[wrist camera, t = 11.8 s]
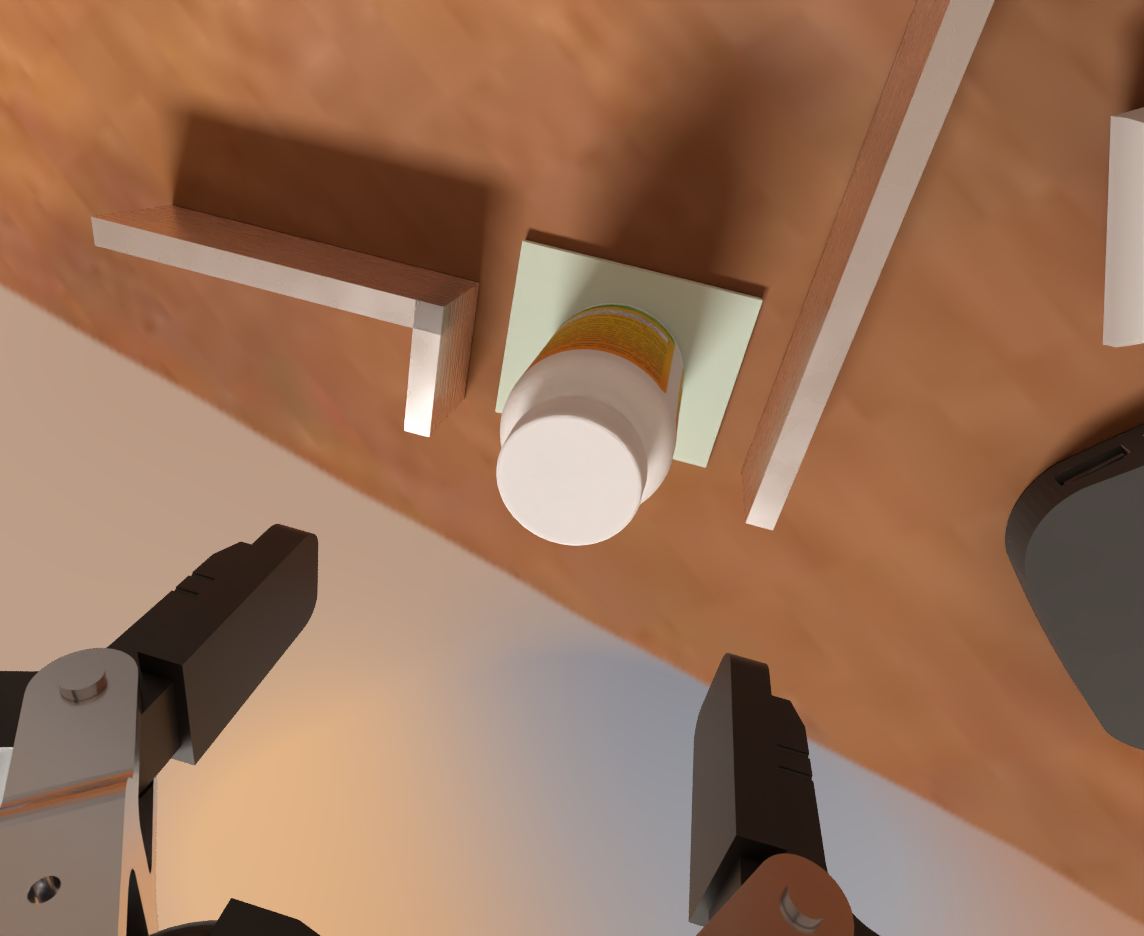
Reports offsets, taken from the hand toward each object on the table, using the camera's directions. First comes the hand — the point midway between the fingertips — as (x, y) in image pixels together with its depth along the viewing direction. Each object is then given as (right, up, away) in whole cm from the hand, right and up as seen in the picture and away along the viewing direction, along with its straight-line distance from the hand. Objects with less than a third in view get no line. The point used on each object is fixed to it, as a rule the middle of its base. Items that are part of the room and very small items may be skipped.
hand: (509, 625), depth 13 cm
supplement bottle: (+3, +7, +14) cm, 16 cm away
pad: (+3, +7, +14) cm, 16 cm away
